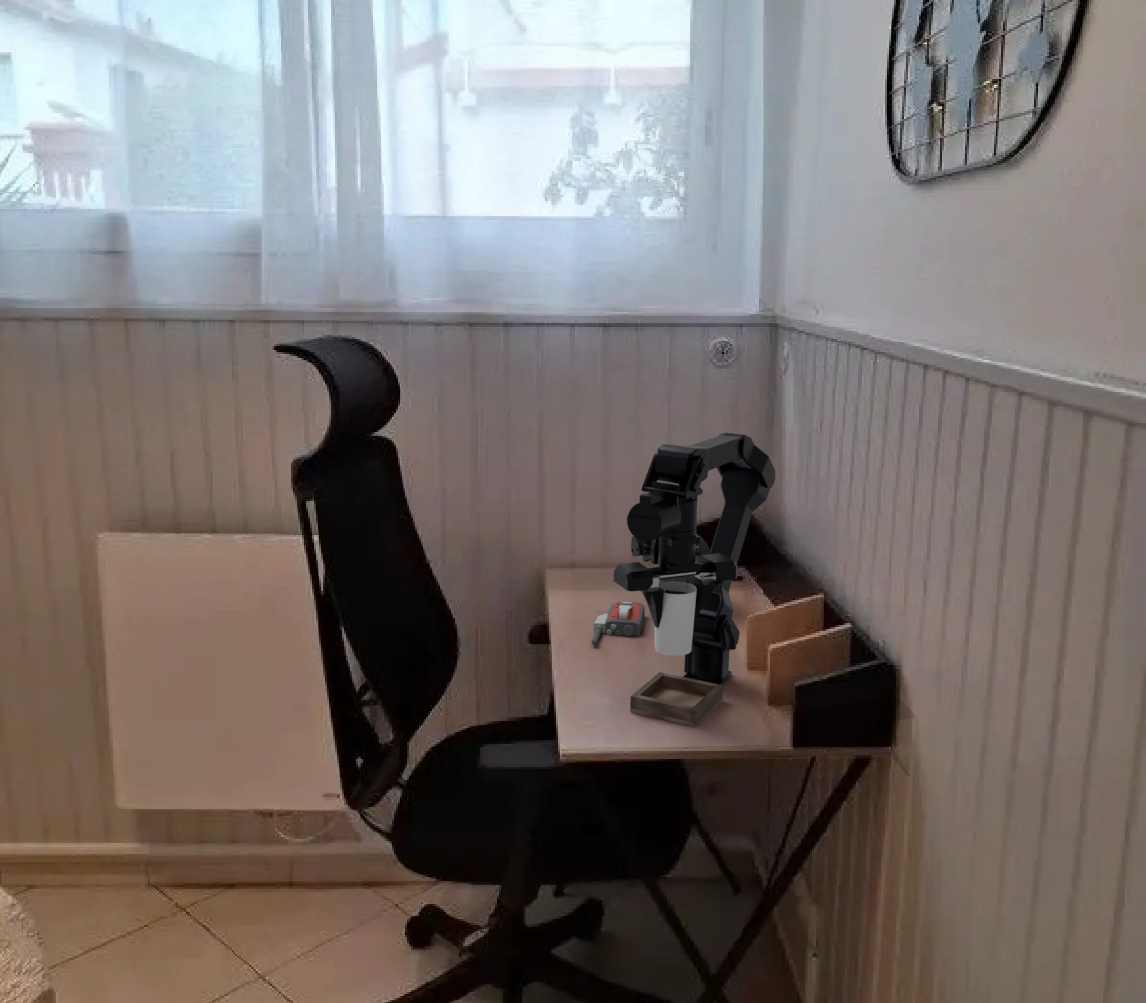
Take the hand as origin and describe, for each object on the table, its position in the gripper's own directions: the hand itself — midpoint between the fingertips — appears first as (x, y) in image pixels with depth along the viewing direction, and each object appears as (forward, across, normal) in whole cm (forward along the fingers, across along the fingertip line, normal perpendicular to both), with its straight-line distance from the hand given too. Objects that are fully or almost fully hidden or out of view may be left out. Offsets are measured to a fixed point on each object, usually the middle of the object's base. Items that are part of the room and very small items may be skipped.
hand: (674, 624), depth 163 cm
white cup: (+4, 0, 0) cm, 4 cm away
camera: (+13, -26, -40) cm, 49 cm away
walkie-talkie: (+14, -6, -33) cm, 36 cm away
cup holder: (+13, 0, +2) cm, 13 cm away
